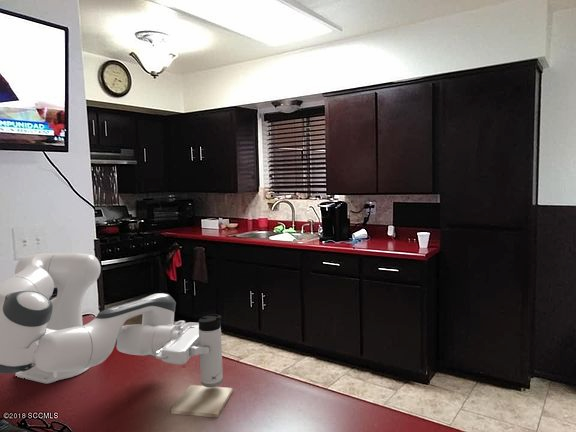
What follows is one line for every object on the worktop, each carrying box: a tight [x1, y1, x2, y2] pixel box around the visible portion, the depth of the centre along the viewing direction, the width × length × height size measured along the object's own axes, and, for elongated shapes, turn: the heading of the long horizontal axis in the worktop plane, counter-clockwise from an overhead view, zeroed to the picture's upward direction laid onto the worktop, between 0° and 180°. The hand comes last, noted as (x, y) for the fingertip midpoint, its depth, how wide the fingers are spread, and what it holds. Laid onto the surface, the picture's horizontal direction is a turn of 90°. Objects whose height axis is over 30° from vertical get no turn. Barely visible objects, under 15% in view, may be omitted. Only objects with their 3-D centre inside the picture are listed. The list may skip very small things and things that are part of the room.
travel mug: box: [198, 313, 224, 387], centre depth 121 cm, size 6×7×20 cm
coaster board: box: [170, 384, 234, 418], centre depth 117 cm, size 13×13×1 cm
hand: (213, 343), depth 120 cm, fingers closed on travel mug, 6 cm apart
